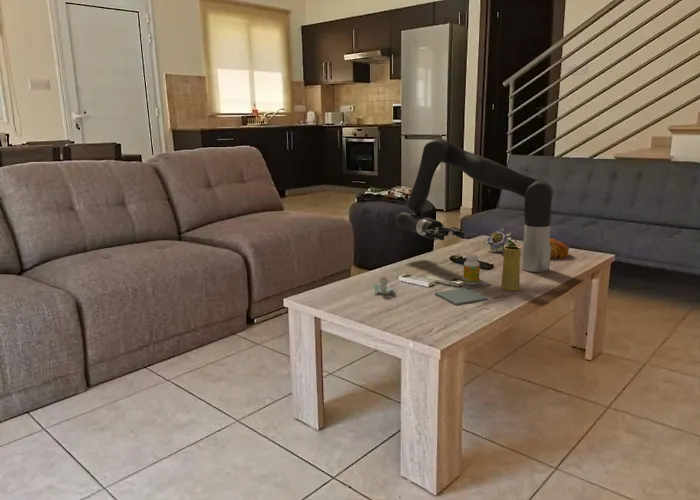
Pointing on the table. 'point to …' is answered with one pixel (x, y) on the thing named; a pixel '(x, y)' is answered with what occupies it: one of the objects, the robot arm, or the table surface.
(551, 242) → the croissant
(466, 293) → the slate pad
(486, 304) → the table surface
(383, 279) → the pacifier
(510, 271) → the vase
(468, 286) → the dark gray tile
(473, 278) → the supplement bottle
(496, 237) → the passion flower
